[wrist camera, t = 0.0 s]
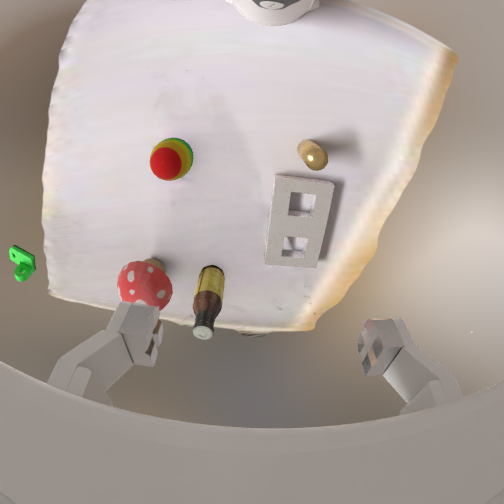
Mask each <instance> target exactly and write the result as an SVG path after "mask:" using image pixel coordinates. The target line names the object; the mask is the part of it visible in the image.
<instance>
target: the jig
mask: <svg viewBox="0 0 504 504" xmlns="http://www.w3.org/2000/svg"><path fill="white" fill-rule="evenodd" d="M334 187H335V185H334V184H333V183H332V182H331V181H327V180H320V179H312V178H304V177H295V176H286V175H277V174H274V182H273V191H272V199H271V207H270V216H269V224H268V232H267V240H266V248H265V256H264V259H265V264H268V265H282V266H296V267H311V268H316V266H317V262H318V258H319V254H320V250H321V246H322V242H323V238H324V233H325V229H326V225H327V220H328V215H329V211H330V206H331V201H332V197H333V192H334ZM291 192H298V193H307V194H313V196H312V202H311V208H310V212H304V211H294V210H288V209H289V203H290V196H291ZM284 236H290V237H302V238H305V239H304V244H303V249H302V251H294V250H282V248H283V242H284Z"/></svg>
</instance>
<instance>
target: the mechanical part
mask: <svg viewBox="0 0 504 504" xmlns="http://www.w3.org/2000/svg"><path fill="white" fill-rule="evenodd" d="M9 255H10V259H11V260H12V261H14V262H15V263H17V264H19V265H18V266H17V267H16V269H15V277H16V279H17V280H18V281H25V280H27V279H28V278H29V276H30V275H31V274H32V273H33V272H34V271H35V270H36V267H35V256H34V255H32V254H30V253H29V252H27V251H25V250H23V249H21V248H20V247H18V246H16V245H14V246H12V247H11V248H10V250H9ZM21 272H24V273H22V274H21Z"/></svg>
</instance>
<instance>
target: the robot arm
mask: <svg viewBox="0 0 504 504" xmlns="http://www.w3.org/2000/svg"><path fill="white" fill-rule="evenodd" d="M225 1H227V2H229V3H231V4H232V5H234V6H235V8H236V9H237V10H238V11H239V12H240V13H241V14H242V15H243V16H244V17H245V18H247V19H248V20H250V21H252V22H254V23H257V24H261V25H266V26H280V25H285V24H289V23H291V22H293V21H295V20H297V19H298V18H300V17H301V16H302V15H304V14H305V13H306V12H308V11H311V10H314V9H317V8H318V7H319V6H320V3H319V0H315V1H314V0H225ZM159 316H160V311H159V307H157V306H151V305H145V304H139V303H131V302H126V301H122V302H120V303H119V305H118V307H117V309H116V311H115V313H114V315H113V316H112V319H111V320H110V322H109V324H108V326H107V329H106V330H102V331H100V332H98V333H97V334H95V335H94V336H92V337H91V338H89V339H88V340H86V341H85V342H83V343H82V344H80V345H79V346H77V347H75V348H74V349H72V350H71V351H69V352H68V353H67V354H65V355H64V356H62V357H60V358H59V360H58V361H57V364H56V365H55V368H54V370H53V372H52V374H51V376H50V378H49V380H48V382H47V384H46V383H44V382H41V381H39V380H37V379H35V378H32V377H31V376H28V375H26V374H24V373H22V372H20V371H18V370H16V369H14V368H12V367H10V366H9V365H7V364H5V363H3V362H1V361H0V504H504V381H502V382H500V383H498V384H496V385H493V386H491V387H489V388H486V389H484V390H481V391H479V392H476V393H474V394H471V395H469V396H466V397H463V395H462V392H461V390H460V388H459V385H458V383H457V381H456V379H455V376H454V374H452V373H451V372H450V371H449V370H447V369H446V368H445V367H444V366H442V365H441V364H440V363H439V362H438V361H436V360H435V359H434V358H433V357H431V356H430V355H429V354H428V353H426V352H425V351H424V350H423V349H421V348H420V347H419V346H415V344H414V342H413V340H412V338H411V336H410V334H409V332H408V330H407V328H406V326H405V324H404V321H403V320H402V319H401V318H376V319H374V318H373V319H368V320H367V321H366V323H365V328H366V329H365V330H364V331H362V332H361V333H360V336H359V338H358V343H357V346H358V352H359V355H360V356H362V357H363V358H364V359H363V361H362V366H363V369H364V372H365V375H366V376H368V375H382V374H383V376H384V377H385V379H386V380H387V381H388V382H389V383H390V384H391V385H392V386H393V387H394V389H395V390H396V391H397V392H398V393H399V394H400V395H401V397H402V398H403V399H404V400H405V401H406V402H407V403H408V404H407V405H406V406H405V407H404V408H403V409H402V410H401V412H400V415H399V416H395V417H390V418H385V419H379V420H373V421H367V422H361V423H353V424H345V425H337V426H326V427H313V428H288V429H287V428H286V429H262V428H238V427H224V426H213V425H204V424H195V423H188V422H181V421H175V420H169V419H164V418H158V417H153V416H149V415H144V414H139V413H135V412H131V411H127V410H123V409H119V408H115V407H112V405H113V404H112V402H111V400H110V399H109V397H108V396H107V394H106V393H105V391H106V390H107V389H108V388H109V387H110V386H111V385H113V384H114V383H115V382H116V381H117V380H118V379H119V378H120V377H121V376H122V375H123V374H124V373H125V372H126V371H128V370H129V369H130V368H131V367H132V366H133V364H138V365H145V366H151V367H154V364H155V361H156V357H157V349H156V347H158V346H159V345H160V344H161V341H162V334H163V325H162V321H160V319H159Z"/></svg>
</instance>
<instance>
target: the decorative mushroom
mask: <svg viewBox="0 0 504 504" xmlns="http://www.w3.org/2000/svg"><path fill="white" fill-rule="evenodd" d="M117 288H118V293H119V296H120V298H121V300H122V301H126V302H131V303H139V304H145V305H151V306H157V307H159V311H161V310H162V309H163V308H164V307H165V306H166V305H167V304H168V303H169V301H170V299H171V296H172V293H173V292H172V284H171V282H170V280H169V278H168V276H167V275H166V273H165V268H164V266H163V265H162V264H161V263H160V262H159V261H157V260H155V259H146V260H144V261H143V262H141V261H136V262H130V263H129V264H127V265H126V266H124V267H123V269H122V270H121V272H120V274H119V277H118V283H117Z"/></svg>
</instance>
